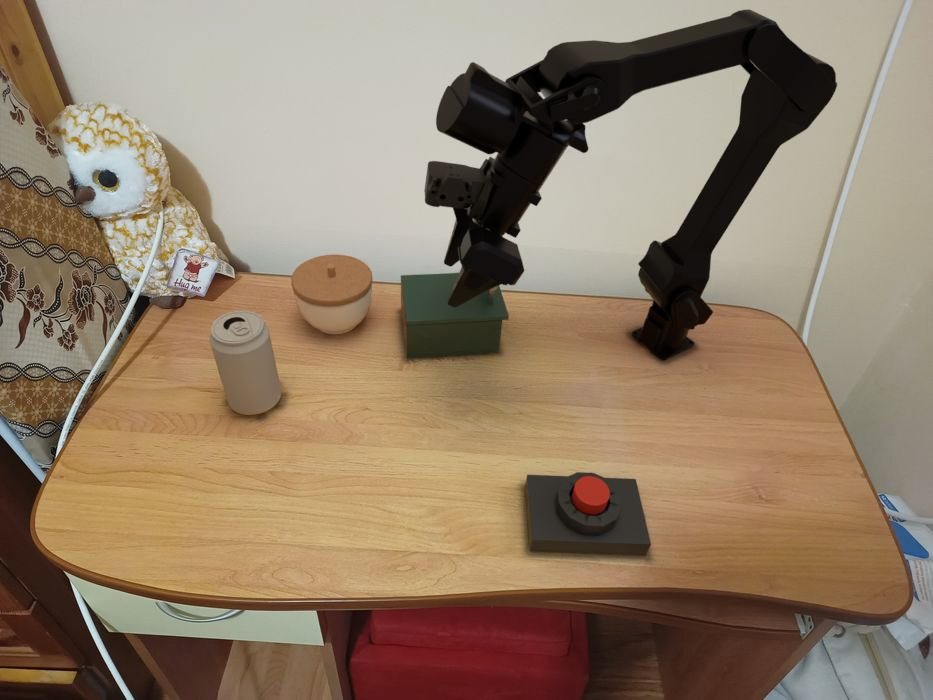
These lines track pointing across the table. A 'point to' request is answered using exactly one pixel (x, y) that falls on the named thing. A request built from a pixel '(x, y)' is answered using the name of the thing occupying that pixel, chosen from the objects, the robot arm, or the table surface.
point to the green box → (450, 338)
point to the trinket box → (333, 292)
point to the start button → (590, 495)
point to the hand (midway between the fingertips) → (449, 284)
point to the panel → (584, 518)
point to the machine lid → (431, 301)
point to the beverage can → (245, 362)
